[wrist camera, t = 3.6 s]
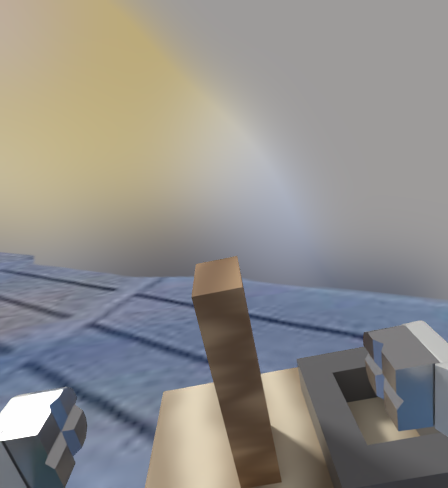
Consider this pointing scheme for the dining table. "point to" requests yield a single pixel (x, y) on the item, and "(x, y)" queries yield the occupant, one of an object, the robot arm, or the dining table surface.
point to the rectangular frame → (350, 437)
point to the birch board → (283, 429)
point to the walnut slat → (235, 370)
